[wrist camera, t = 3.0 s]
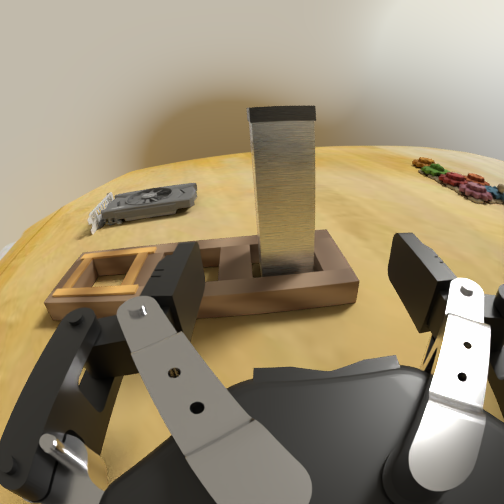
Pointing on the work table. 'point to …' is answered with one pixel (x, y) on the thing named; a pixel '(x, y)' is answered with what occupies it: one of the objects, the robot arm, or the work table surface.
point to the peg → (284, 187)
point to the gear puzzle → (462, 182)
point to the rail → (216, 292)
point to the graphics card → (143, 204)
